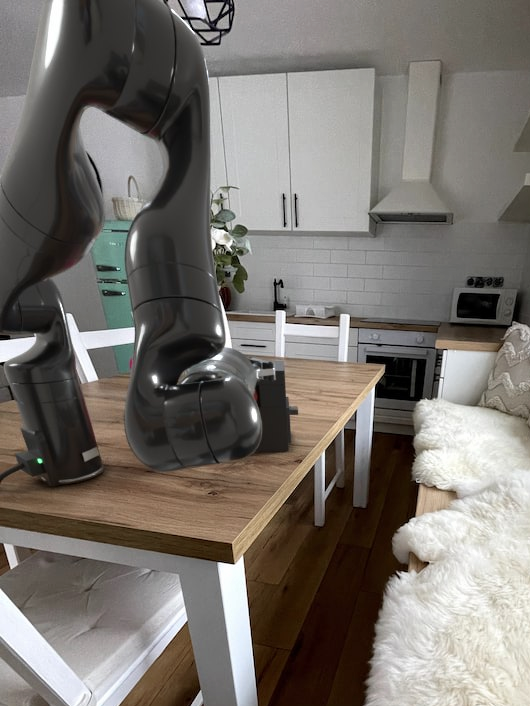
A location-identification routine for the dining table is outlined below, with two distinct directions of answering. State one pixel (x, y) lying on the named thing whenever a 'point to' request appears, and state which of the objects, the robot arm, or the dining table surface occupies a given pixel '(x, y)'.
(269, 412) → the grey button box
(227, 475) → the dining table surface
